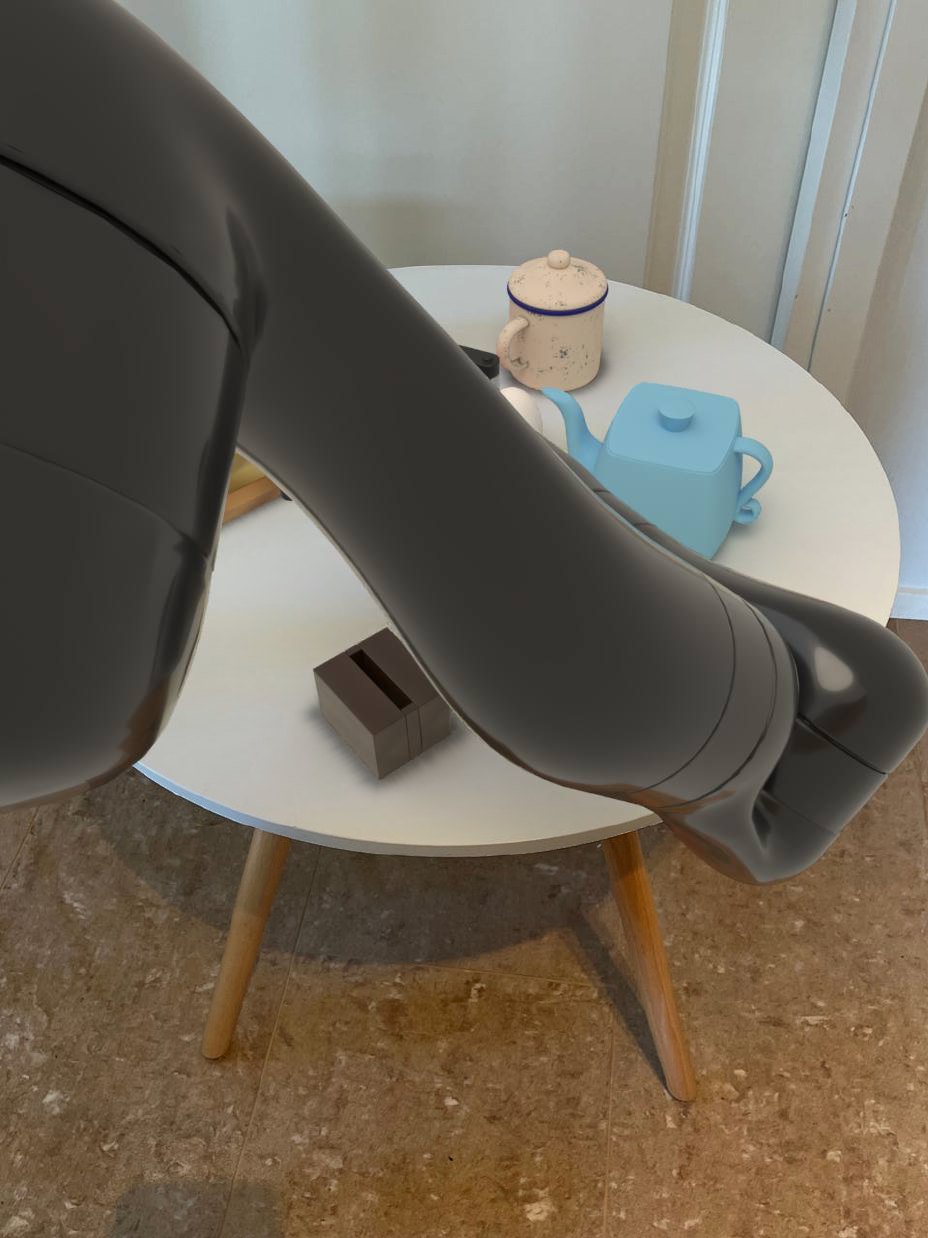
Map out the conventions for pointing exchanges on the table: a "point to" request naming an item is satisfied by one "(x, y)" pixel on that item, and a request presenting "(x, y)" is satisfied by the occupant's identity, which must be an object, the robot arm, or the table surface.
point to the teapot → (673, 460)
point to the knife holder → (381, 703)
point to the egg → (524, 406)
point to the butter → (247, 489)
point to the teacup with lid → (554, 322)
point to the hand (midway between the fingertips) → (293, 343)
